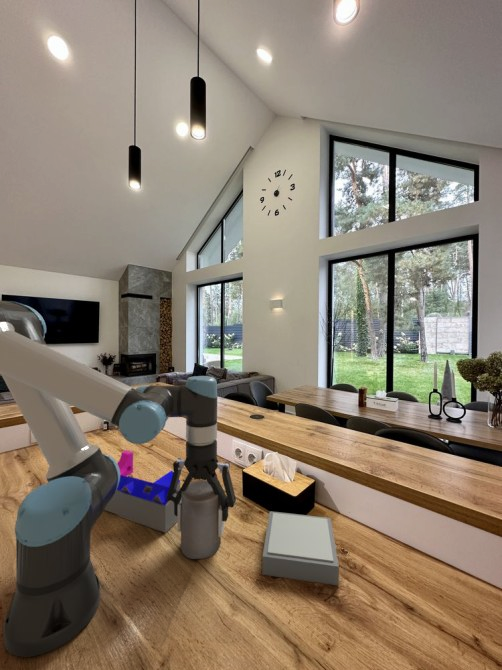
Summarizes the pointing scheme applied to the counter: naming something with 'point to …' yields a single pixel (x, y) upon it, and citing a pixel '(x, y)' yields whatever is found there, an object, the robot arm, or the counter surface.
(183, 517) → the pillar candle
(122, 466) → the magenta cradle bracket
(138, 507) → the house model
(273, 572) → the plinth
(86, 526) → the robot arm
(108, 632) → the counter surface
